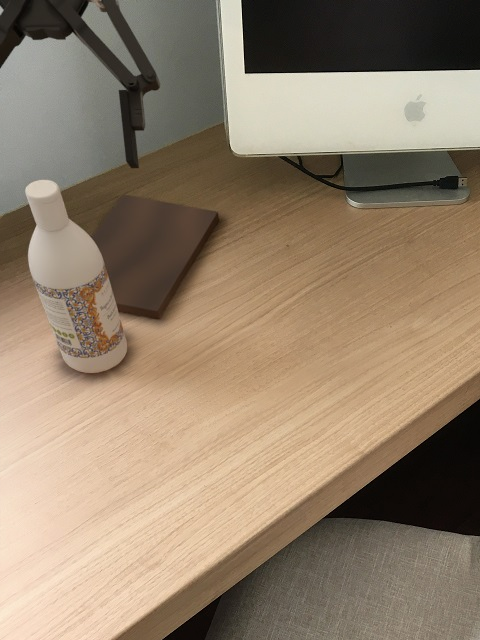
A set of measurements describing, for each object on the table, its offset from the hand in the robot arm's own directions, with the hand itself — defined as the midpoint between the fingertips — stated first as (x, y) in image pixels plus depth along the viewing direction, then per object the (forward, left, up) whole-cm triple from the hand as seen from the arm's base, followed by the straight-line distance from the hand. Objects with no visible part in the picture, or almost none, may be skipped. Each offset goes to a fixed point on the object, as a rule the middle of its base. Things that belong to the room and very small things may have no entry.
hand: (62, 167), depth 77 cm
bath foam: (+3, -8, -17) cm, 19 cm away
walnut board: (+1, +9, -17) cm, 20 cm away
